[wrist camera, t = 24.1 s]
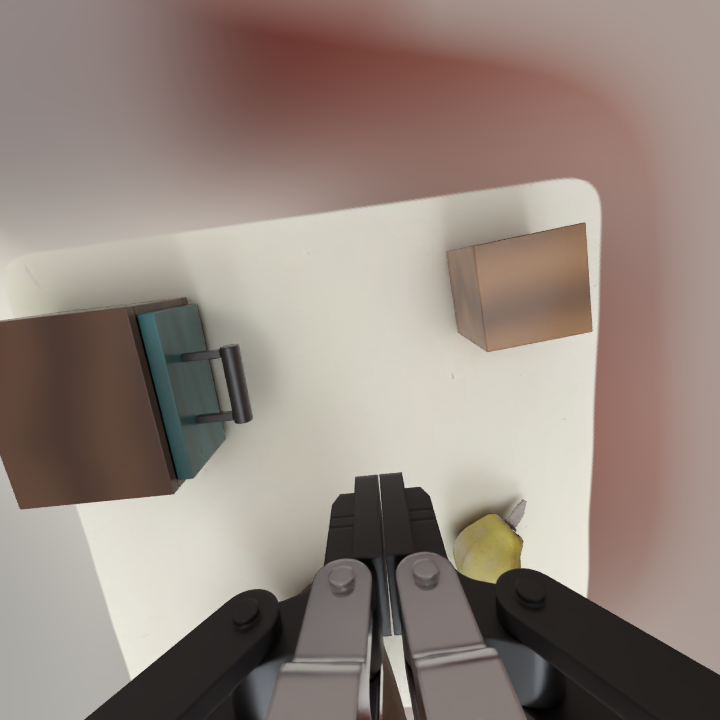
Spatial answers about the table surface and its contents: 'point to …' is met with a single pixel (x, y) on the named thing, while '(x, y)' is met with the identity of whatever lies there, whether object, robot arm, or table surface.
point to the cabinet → (81, 408)
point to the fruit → (490, 546)
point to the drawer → (191, 385)
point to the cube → (522, 288)
